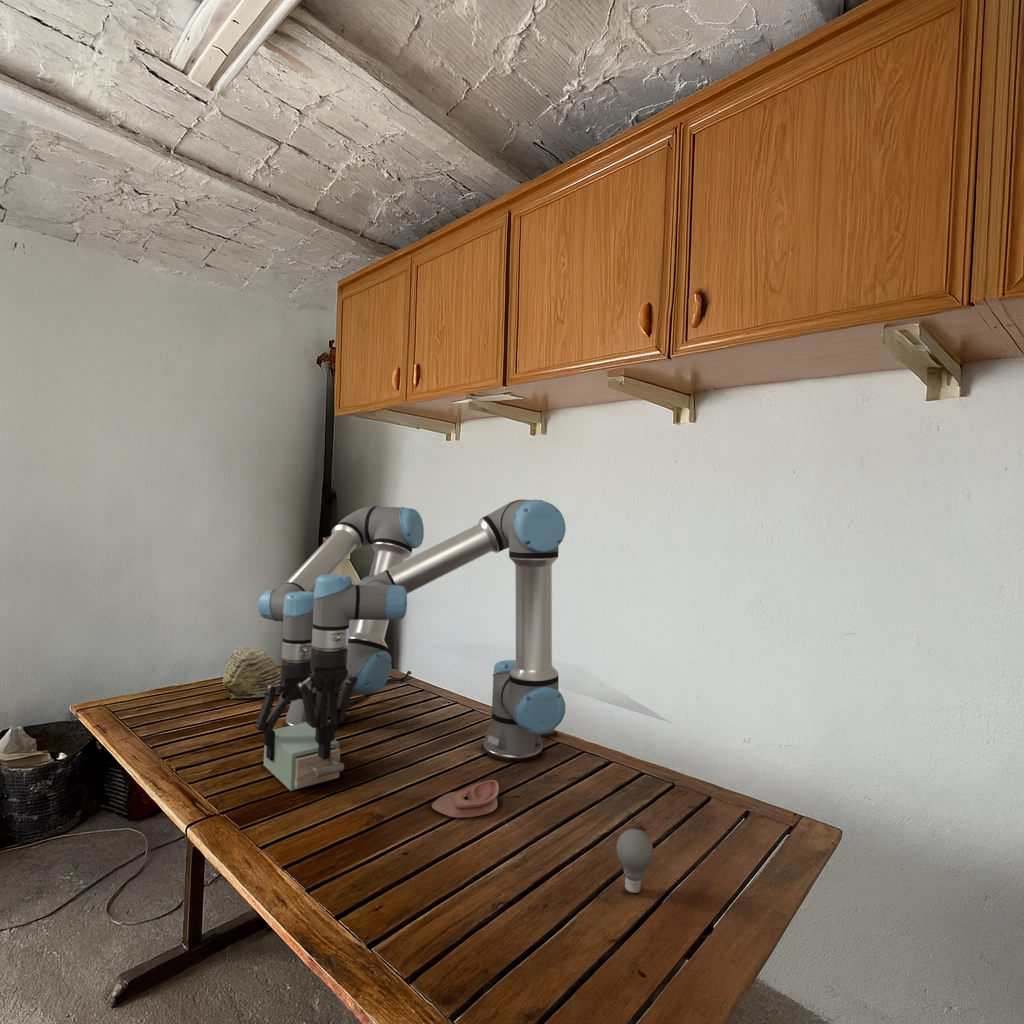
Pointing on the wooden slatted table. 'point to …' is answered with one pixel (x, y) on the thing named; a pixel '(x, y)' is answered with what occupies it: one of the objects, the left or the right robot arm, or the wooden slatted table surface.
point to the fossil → (250, 673)
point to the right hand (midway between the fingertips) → (324, 756)
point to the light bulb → (634, 857)
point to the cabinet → (292, 751)
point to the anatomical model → (469, 800)
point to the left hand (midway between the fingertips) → (295, 752)
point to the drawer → (317, 768)
